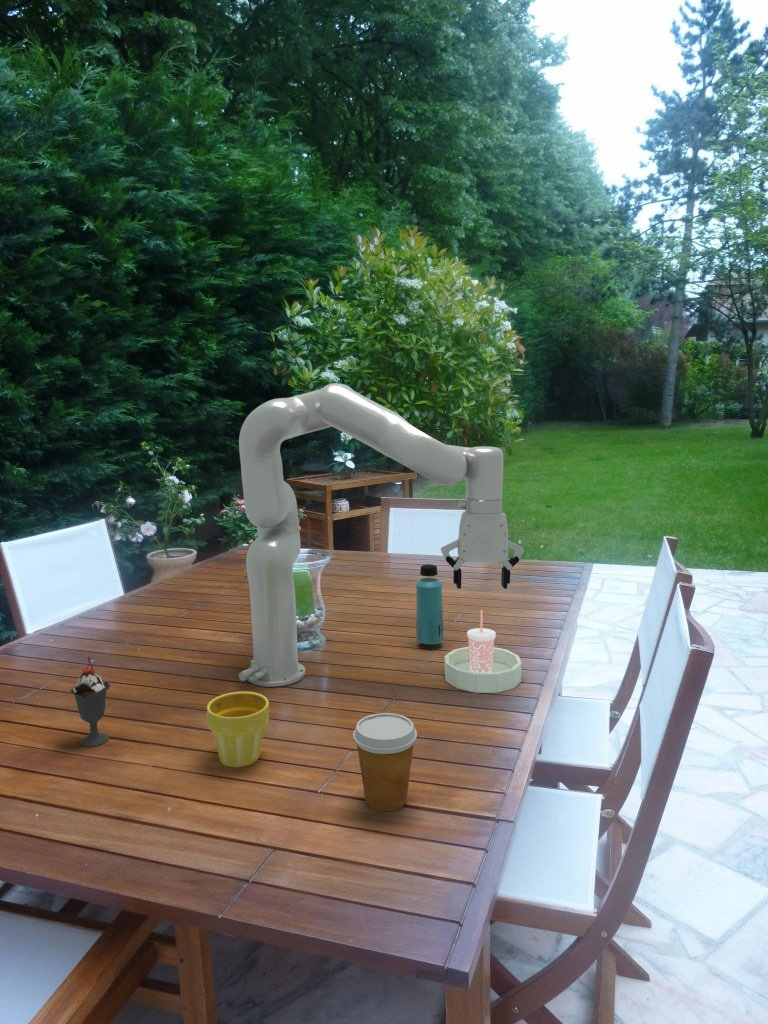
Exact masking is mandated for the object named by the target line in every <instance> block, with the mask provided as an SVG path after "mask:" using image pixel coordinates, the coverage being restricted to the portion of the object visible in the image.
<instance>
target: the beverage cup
mask: <svg viewBox="0 0 768 1024" xmlns="http://www.w3.org/2000/svg"><path fill="white" fill-rule="evenodd" d="M483 611H484V610H483V609H480V617H479V618H480V619H479V620H480V627H478V628H471V629H468V630H467V633H466V636H467V638H468V647H469V656H470V671H471V672H476V673H492V663H493V649H494V647H495V646H494V645H495V639H496V638H497V637H496V635H497V632H496V631H495V630H492V629H490V628H486V627H484V626H483V625H484V624H483V623H484V620H483V617H484V616H483V614H484V613H483ZM483 627H484V628H483Z"/></svg>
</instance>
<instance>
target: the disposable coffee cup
mask: <svg viewBox="0 0 768 1024" xmlns="http://www.w3.org/2000/svg"><path fill="white" fill-rule="evenodd" d="M352 737H353V740H354V742H355V744H356V749H357V753H358V762H359V766H360V772H361V778H362V779H361V780H362V785H363V792H364V793H363V794H364V800H365V804H366V805H367V807H369V808H371V809H372V810H375V811H378V812H393V811H397V810H400V809H402V808H403V807H404V806H405V805H406V803H407V801H408V792H409V783H410V776H411V768H412V761H413V760H412V759H413V750H414V744H415V741H416V740H417V737H418V731H417V730H416V728H415V725H414V723H413V721H412V720H411V719H410V718H408V717H407V716H405V715H401V714H398V713H392V712H382V713H381V712H380V713H373V714H370V715H367V716H364V717H362V718H361V719H359V720H358V721H357V723H356V726H355V729H354V730H353V733H352Z"/></svg>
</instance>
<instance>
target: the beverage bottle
mask: <svg viewBox="0 0 768 1024" xmlns="http://www.w3.org/2000/svg"><path fill="white" fill-rule="evenodd" d="M419 575H420V576H422V577H423V578H421V579H419V580H418V581H417V582H416V584H415V586H416V587H415V588H416V589H415V591H416V596H415V597H416V605H415V606H416V607H415V608H416V612H415V615H416V625H415V627H416V634H415V635H416V639H417V642H419V644H423V645H437V644H440V643H442V642H443V639H444V620H443V619H444V616H443V615H444V612H443V601H444V600H443V583H442V581H441V580H439V579H438V578H435V576H437V575H438V567H437V565H436V564H423V565H421V566H420V572H419Z"/></svg>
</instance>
